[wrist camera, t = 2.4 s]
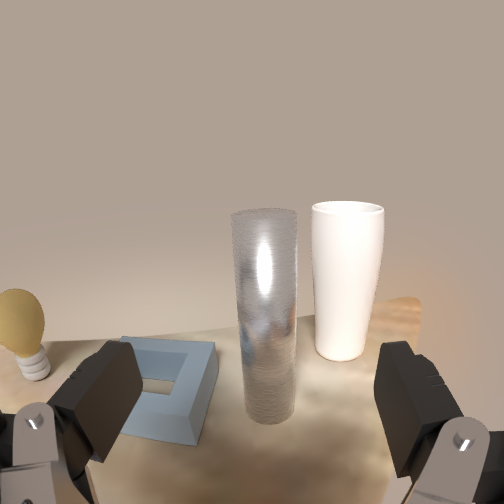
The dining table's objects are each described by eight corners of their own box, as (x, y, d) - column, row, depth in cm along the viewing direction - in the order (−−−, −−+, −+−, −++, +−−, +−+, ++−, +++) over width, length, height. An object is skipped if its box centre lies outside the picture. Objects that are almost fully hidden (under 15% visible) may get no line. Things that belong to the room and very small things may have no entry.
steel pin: (243, 423, 22) (225, 221, 18) (248, 391, 26) (235, 209, 21) (294, 424, 22) (298, 219, 17) (293, 391, 26) (295, 207, 21)
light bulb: (6, 386, 23) (-29, 303, 20) (31, 356, 30) (5, 280, 27) (47, 396, 24) (10, 306, 21) (71, 361, 30) (45, 279, 27)
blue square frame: (90, 425, 21) (75, 395, 20) (130, 363, 30) (122, 336, 29) (196, 446, 20) (188, 416, 19) (218, 371, 29) (214, 342, 28)
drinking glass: (363, 331, 34) (373, 200, 30) (377, 366, 28) (396, 213, 23) (306, 333, 35) (307, 201, 31) (309, 370, 29) (314, 213, 24)
